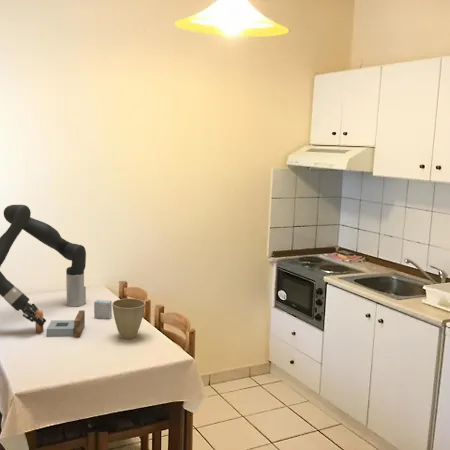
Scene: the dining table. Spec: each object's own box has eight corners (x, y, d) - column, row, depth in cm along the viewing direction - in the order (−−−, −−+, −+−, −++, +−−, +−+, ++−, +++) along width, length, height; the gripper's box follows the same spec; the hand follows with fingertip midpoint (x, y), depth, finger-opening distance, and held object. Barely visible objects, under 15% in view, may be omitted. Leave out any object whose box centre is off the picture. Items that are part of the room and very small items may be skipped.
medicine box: (111, 316, 288) (111, 300, 287) (109, 319, 284) (109, 302, 283) (96, 315, 289) (96, 299, 288) (94, 318, 285) (93, 301, 283)
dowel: (41, 330, 266) (40, 309, 264) (44, 332, 263) (44, 311, 262) (34, 331, 263) (33, 311, 262) (37, 333, 261) (37, 312, 259)
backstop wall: (74, 337, 258) (74, 320, 256) (79, 326, 272) (79, 310, 271) (79, 337, 258) (79, 320, 257) (84, 326, 273) (84, 310, 271)
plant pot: (113, 343, 253) (113, 308, 250) (111, 331, 267) (111, 299, 264) (146, 340, 257) (147, 307, 254) (142, 329, 271) (143, 297, 268)
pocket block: (46, 337, 258) (46, 329, 257) (51, 328, 270) (51, 320, 269) (73, 337, 259) (73, 328, 259) (77, 328, 271) (77, 320, 270)
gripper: (17, 297, 253) (46, 323, 256) (25, 288, 267) (52, 313, 270) (6, 308, 253) (34, 334, 256) (14, 299, 267) (41, 324, 270)
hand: (43, 323), depth 263 cm, fingers closed on dowel, 3 cm apart
